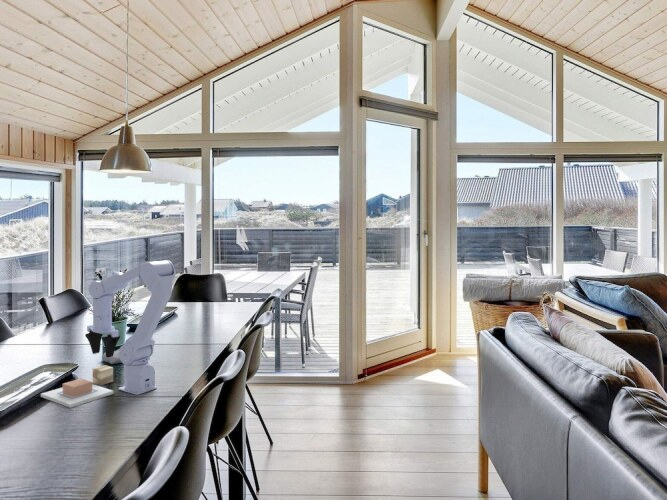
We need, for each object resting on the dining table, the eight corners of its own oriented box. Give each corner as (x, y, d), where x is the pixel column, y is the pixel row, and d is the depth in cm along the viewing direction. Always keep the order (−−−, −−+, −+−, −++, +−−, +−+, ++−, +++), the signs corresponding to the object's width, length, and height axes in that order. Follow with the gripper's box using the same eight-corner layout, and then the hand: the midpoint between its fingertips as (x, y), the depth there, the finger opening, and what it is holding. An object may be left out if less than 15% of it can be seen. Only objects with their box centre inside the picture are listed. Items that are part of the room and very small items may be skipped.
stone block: (142, 363, 193) (130, 354, 199) (143, 352, 192) (130, 343, 198) (113, 371, 184) (101, 361, 190) (114, 359, 183) (101, 350, 189)
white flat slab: (113, 393, 154) (113, 381, 154) (70, 407, 142) (70, 394, 142) (83, 384, 162) (83, 372, 162) (40, 396, 150) (40, 384, 150)
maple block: (113, 381, 166) (113, 367, 166) (100, 385, 162) (100, 370, 162) (105, 379, 168) (104, 365, 168) (92, 382, 164) (92, 368, 164)
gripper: (126, 316, 164) (126, 355, 164) (100, 311, 171) (100, 349, 172) (107, 319, 158) (107, 360, 158) (81, 314, 165) (81, 353, 166)
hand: (102, 354), depth 165 cm, fingers open, 7 cm apart
